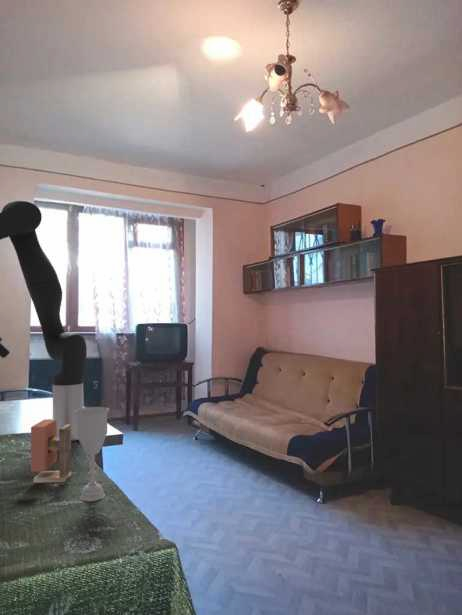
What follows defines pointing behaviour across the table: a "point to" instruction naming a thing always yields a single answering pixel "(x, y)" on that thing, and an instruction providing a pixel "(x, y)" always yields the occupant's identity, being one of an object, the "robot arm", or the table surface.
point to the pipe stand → (64, 457)
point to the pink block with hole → (43, 445)
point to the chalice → (92, 444)
